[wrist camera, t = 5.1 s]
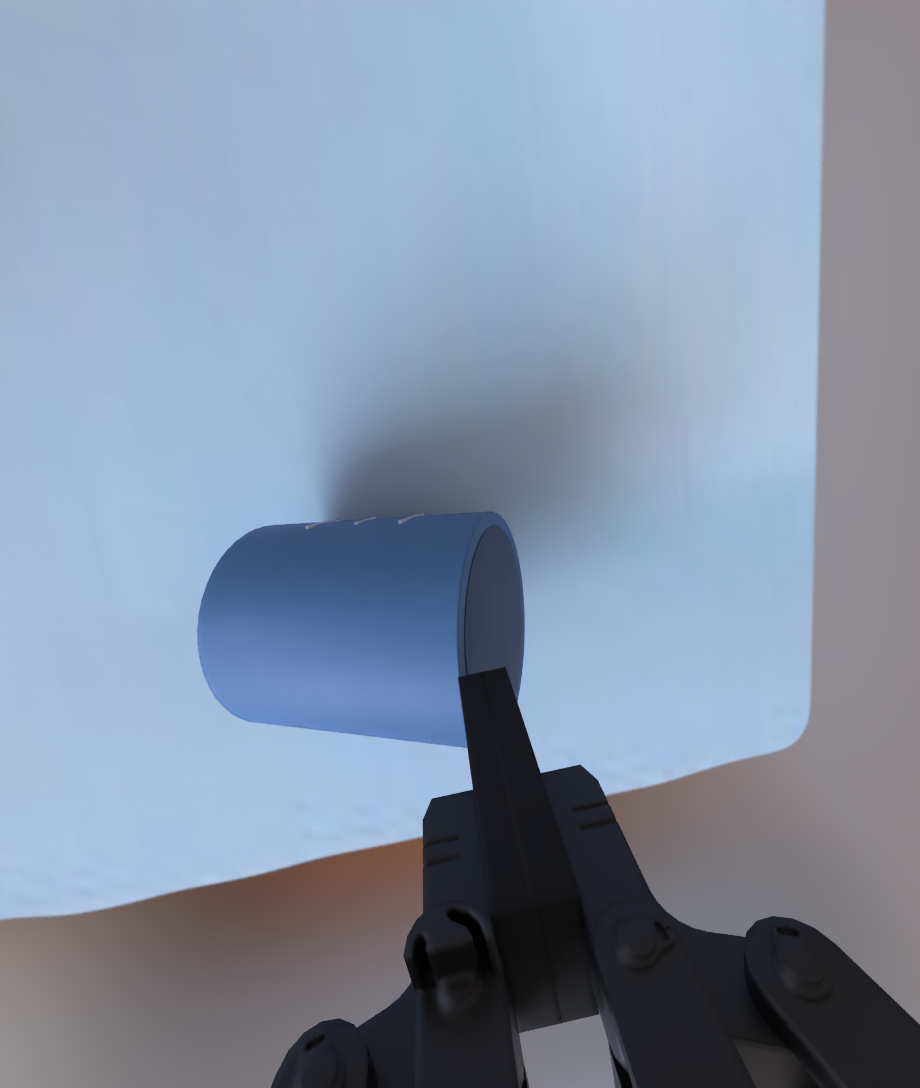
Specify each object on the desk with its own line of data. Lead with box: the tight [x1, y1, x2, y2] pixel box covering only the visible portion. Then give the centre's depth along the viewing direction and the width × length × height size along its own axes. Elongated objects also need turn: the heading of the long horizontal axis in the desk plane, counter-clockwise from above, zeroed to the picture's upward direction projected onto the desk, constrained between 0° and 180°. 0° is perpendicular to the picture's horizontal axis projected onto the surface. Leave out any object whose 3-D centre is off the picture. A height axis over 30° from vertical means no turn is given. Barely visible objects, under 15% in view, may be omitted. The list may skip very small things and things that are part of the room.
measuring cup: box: [197, 512, 525, 748], centre depth 19 cm, size 10×8×8 cm
